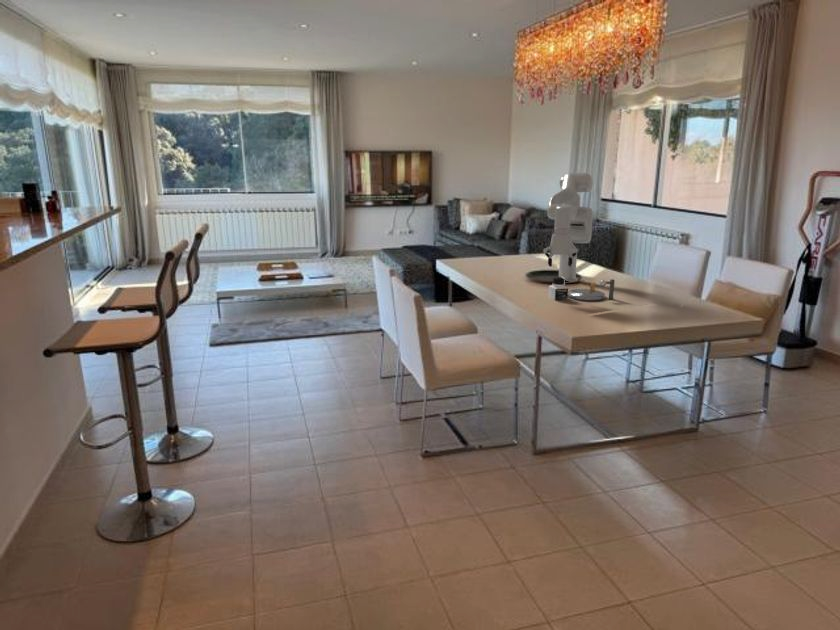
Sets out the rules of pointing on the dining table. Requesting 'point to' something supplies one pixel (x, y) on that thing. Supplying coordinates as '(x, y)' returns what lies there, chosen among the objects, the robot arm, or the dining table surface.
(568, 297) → the base
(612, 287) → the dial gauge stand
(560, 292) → the medicine bottle
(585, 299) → the disc
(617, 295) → the dining table surface
